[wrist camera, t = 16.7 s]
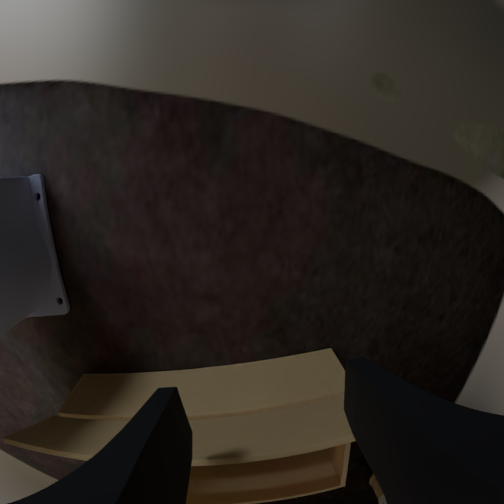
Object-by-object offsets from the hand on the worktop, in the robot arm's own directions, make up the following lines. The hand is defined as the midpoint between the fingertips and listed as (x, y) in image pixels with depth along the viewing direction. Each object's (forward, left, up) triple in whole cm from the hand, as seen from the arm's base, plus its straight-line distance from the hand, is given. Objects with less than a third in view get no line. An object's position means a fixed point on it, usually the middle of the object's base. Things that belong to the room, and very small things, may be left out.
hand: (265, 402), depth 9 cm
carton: (+11, -4, -10) cm, 15 cm away
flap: (+4, -4, -2) cm, 6 cm away
